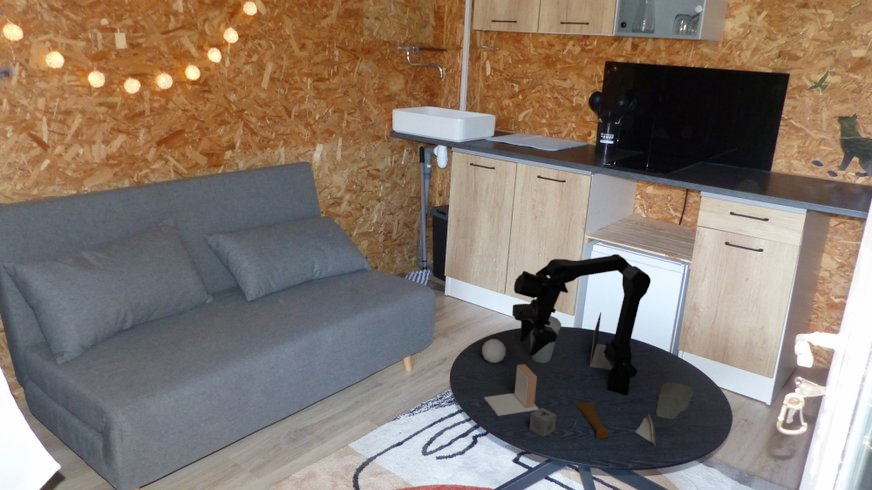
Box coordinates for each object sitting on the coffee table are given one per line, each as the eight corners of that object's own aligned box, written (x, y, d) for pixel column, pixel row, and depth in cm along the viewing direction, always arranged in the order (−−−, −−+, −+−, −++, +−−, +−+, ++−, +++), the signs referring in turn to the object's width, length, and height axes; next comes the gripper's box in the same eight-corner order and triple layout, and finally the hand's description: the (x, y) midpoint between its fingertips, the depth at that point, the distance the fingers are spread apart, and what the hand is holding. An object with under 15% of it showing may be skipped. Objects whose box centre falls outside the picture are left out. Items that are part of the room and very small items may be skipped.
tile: (521, 393, 212) (524, 364, 209) (533, 407, 205) (537, 376, 202) (513, 394, 211) (516, 365, 208) (525, 408, 204) (528, 377, 201)
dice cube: (554, 430, 194) (556, 415, 193) (543, 437, 191) (545, 421, 190) (540, 423, 198) (542, 407, 196) (529, 429, 195) (530, 413, 193)
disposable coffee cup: (534, 348, 243) (539, 309, 239) (563, 358, 237) (567, 317, 233) (519, 359, 235) (523, 318, 230) (548, 369, 229) (553, 327, 224)
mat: (523, 392, 213) (523, 391, 213) (538, 409, 204) (538, 408, 204) (484, 398, 209) (484, 397, 209) (497, 415, 200) (497, 414, 200)
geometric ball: (498, 367, 234) (514, 352, 232) (485, 367, 228) (502, 351, 225) (485, 350, 238) (501, 334, 235) (473, 349, 232) (489, 333, 229)
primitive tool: (574, 404, 209) (575, 394, 208) (591, 404, 210) (593, 393, 209) (595, 441, 191) (597, 430, 190) (615, 441, 192) (616, 429, 191)
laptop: (627, 374, 229) (633, 338, 225) (589, 367, 233) (593, 331, 229) (631, 352, 245) (636, 318, 241) (595, 345, 249) (600, 311, 245)
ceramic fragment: (655, 447, 189) (658, 435, 188) (636, 445, 190) (638, 432, 189) (650, 421, 203) (652, 409, 201) (632, 418, 203) (633, 407, 202)
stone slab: (693, 395, 221) (661, 383, 224) (696, 387, 220) (664, 376, 223) (686, 430, 201) (652, 417, 205) (689, 422, 200) (654, 409, 204)
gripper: (511, 283, 210) (493, 328, 214) (532, 307, 193) (511, 356, 197) (543, 292, 214) (525, 337, 217) (566, 316, 196) (546, 365, 200)
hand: (526, 348), depth 208 cm, fingers open, 9 cm apart
